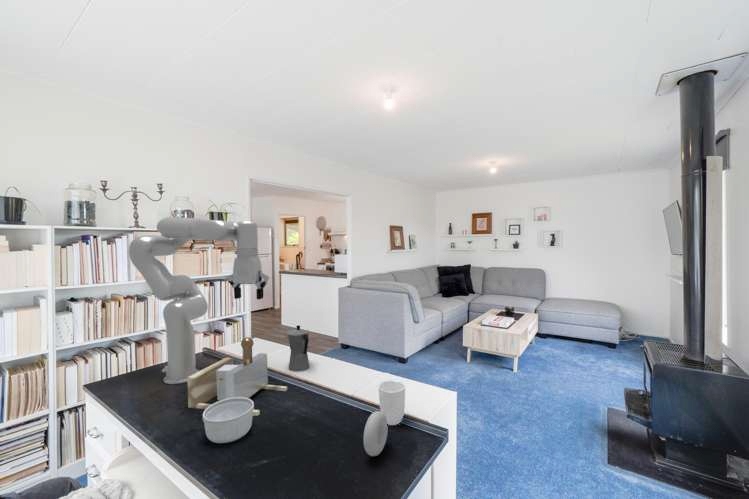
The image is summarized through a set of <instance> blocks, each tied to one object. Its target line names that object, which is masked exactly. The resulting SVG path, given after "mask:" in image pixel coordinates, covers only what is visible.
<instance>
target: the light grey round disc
mask: <svg viewBox="0 0 749 499" xmlns="http://www.w3.org/2000/svg"><path fill="white" fill-rule="evenodd" d="M388 428H389V425H387V419H386V416H385V415H384V414H383V413H382V412H381V410H380V411H378V410H377V411H374V412H372V413H371V414H370V415H369V417H368V419H367V420H366V423H365V425H364V431H363V440H362V441H363V448H364V450H365V452H366V453H367V455H369V456H370V457H376V456H379V455H380V454H381V453H382V451H383V449H384V447H385V445H386V442H387V438H388Z"/></svg>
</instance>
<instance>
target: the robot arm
mask: <svg viewBox="0 0 749 499" xmlns="http://www.w3.org/2000/svg"><path fill="white" fill-rule="evenodd" d="M156 230H157V232H158V234H160V235H156V234H155V235H149V234H148V235H140V236H137V237H135V238H134V239H132V241H130V243H129V247H128V256H129V259H130V261H131V263H132V265H133V266H134V267H135V268H136V269H137V271H138V272H139V273H140V274H141V276H142V277H143V279H144V280H145V282H146V284H147V285H148V287H149V288H150V290H151V292H152V294H154V296H155V297H156V298H157V299H158V300H159V301H163V302H164V301H170V302H168V303H167V304H166V305H165V306H164V308H163V310H162V315H163V320H164V323H165V329H166V330H165V331H166V344H167V345H166V348H167V365H165V366H164V368H162V370H161V372H162V373H165V374H166V375H165V376H164V377H163V382H164V384H168V385H179V384H184V383H188V381H187V377H189V376H191V375H193V374H195V373H197V372H199V371H200V370H199V369H197V367H196V363H197V362H196V339H195V338H196V336H195V335H196V334H195V329H194V326H193V325H192V323H191V321H193V320H195V319H198V318H202V317H203V316H205V314H207V312H208V307H209V305H208V302H207V300H206V298H205V296H204V295H203V293H202V291H201V290H200V289H199V287H198V285H197V283H195V281H194V280H193V279H192V278H191V277H190V276H187V275H185V274H180V275H179V274H178V275H173V274H172V273H170V271H169V269H168V268H167V266H166V265H165V264H164V263H163V262H161V261H160V260H158V258H156V257H162V256H165V257H166V256H172V255H174V254H175V253H176V252H178V251H179V250H180V249H181V248H183V247H184V246H185V245H186V244H187V242H189V241H190V240H193V241H198V240H199V241H213V242H223V241H224V242H234V241H235V242H236V250H235V251H234V255H236V257H235V258H234V260H233V266H232V274H230V275H228V276H227V280H228V281H229V284H230V286H231V287H232V289H233V295H234V296H233V299H235V300H237V299H241V298H242V288H241V285H255V286H256V300H262V299H264V289H265V287H266V286H267V284H268V282H269V279H270V276H268V275H267V274H265V273H263V270H262V268H263V267H262V262H261V258H260V257H259V244H258V240H259V238H258V235H259V234H258V224H257V222H256V221H251V220H241V221H238V222H236V221H229V220H218V219H217V220H215V219H200V218H197V217H196V218H195V217H178V216H177V217H174V216H170V217H163V218H161V219H160V220H159V221H158V222H157V224H156Z"/></svg>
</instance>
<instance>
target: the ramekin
mask: <svg viewBox="0 0 749 499" xmlns="http://www.w3.org/2000/svg"><path fill="white" fill-rule="evenodd" d="M253 410H255V403H254V401H253V400H252V399H251V398H244V397H234V398H228V399H224V400H221V401H218V400H217V401H216V402H214V403H212V405H210V406H209V407H208V408H206V409H204V411H203V413H202V421H203V423H204V424H203V425H204V431H205V436H206V437H207V439H208V440H209V441H211V442H212V443H214V444H227V443H232V442H235V441H237V440H239V439H241V438H242V437H244V436H245V435H246V434H248V432H249V430H250V429H252V428H251V427H252V425H253V417H254V416H253Z"/></svg>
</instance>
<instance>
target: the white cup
mask: <svg viewBox="0 0 749 499" xmlns="http://www.w3.org/2000/svg"><path fill="white" fill-rule="evenodd" d="M378 397H379V399H378V400H379V408H380V412H382V413H383V414H384V415H385V416H386V419H387V424H388V426H398V425H400V424H399V423H400V421H401V419H402V418H403V416H404V415H405V407H406V406H405V405H406V403H405V402H406V385H405V384H404V383H403V382H401V381H398V380H386V381H382V382H381V383H380V384H379V385H378ZM404 417H405V416H404ZM397 424H398V425H397Z"/></svg>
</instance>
